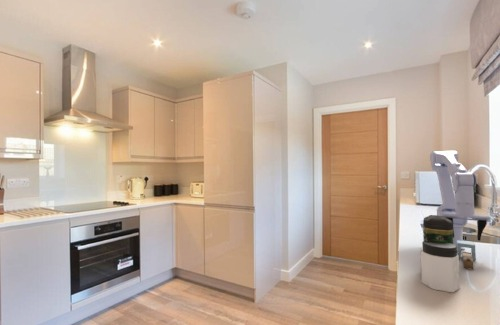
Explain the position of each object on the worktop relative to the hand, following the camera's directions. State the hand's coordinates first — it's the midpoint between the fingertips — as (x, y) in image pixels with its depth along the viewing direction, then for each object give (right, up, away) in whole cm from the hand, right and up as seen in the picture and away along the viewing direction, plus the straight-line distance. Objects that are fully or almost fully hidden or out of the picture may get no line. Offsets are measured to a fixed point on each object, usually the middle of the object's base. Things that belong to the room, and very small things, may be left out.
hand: (465, 238), depth 100 cm
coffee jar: (-22, -7, -16) cm, 29 cm away
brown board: (-6, -7, -8) cm, 12 cm away
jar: (-29, -6, -25) cm, 39 cm away
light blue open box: (0, -7, 0) cm, 7 cm away
